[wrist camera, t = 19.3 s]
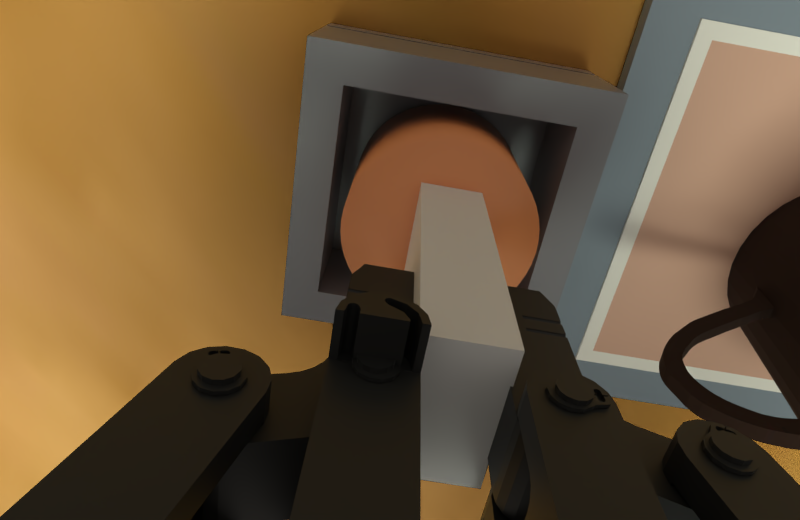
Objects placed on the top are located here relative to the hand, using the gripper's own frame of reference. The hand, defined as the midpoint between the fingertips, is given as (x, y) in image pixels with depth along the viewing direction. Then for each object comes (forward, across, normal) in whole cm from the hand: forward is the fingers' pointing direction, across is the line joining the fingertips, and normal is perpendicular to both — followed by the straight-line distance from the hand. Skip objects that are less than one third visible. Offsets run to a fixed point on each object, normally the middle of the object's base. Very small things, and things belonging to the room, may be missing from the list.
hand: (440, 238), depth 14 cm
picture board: (+6, -12, 0) cm, 14 cm away
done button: (+4, 0, 0) cm, 4 cm away
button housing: (+6, 0, 0) cm, 6 cm away
